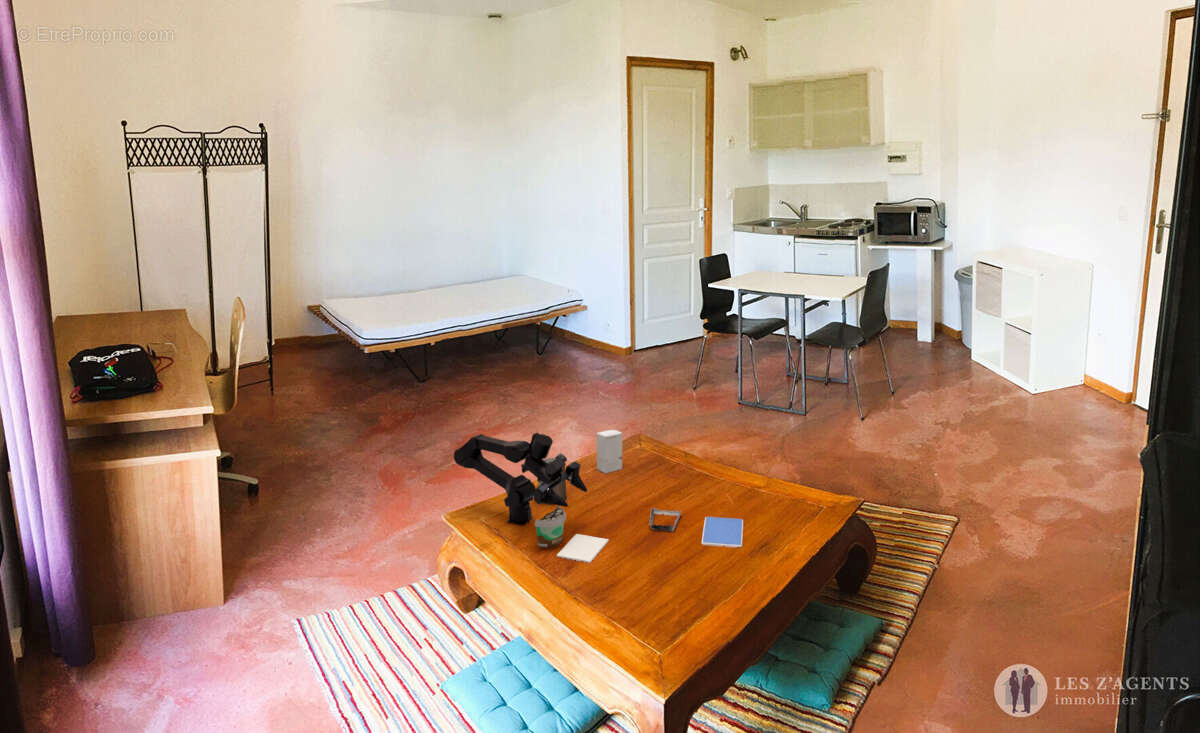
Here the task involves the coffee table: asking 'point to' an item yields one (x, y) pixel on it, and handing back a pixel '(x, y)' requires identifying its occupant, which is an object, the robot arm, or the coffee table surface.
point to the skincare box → (609, 451)
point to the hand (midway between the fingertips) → (577, 498)
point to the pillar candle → (561, 488)
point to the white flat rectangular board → (583, 548)
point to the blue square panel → (722, 532)
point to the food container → (551, 528)
